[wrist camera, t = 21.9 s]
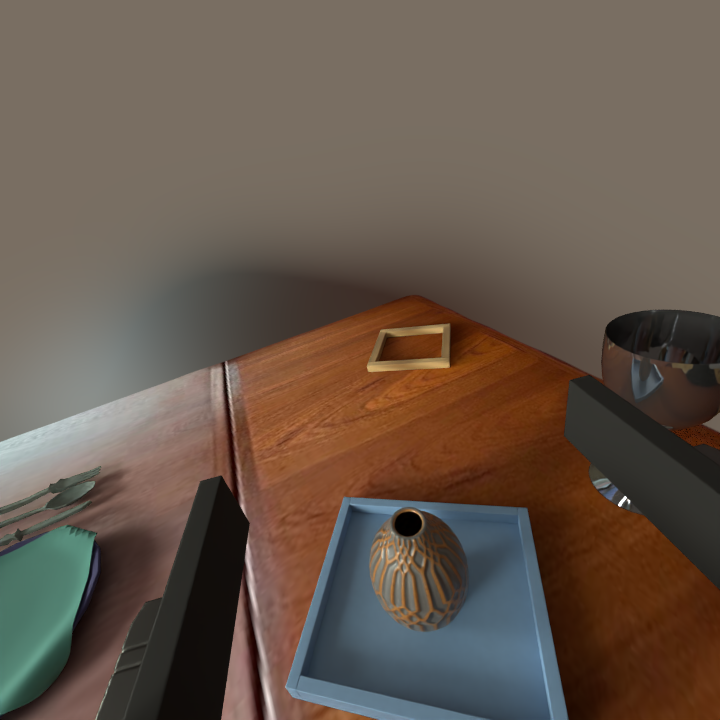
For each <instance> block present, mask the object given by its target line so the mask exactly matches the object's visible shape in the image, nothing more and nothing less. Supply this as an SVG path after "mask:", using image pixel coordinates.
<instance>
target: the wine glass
mask: <svg viewBox="0 0 720 720" xmlns="http://www.w3.org/2000/svg"><path fill="white" fill-rule="evenodd" d="M601 363H602V377H603V383H604V385H605V386H606V387H607V388H609V389H610V390H612V391H613V392H615V393H616V394H618V395H619V396H620V397H622V398H623V399H625V400H626V401H628V402H629V403H631V404H632V405H633V406H635V407H636V408H638V409H639V410H641V411H642V412H644V413H645V414H646V415H648V416H649V417H651V418H652V419H654V420H655V421H657V422H658V423H659V424H661V425H662V426H664V427H665V428H667V429H668V430H670V431H671V432H673V431H677V430H682V429H686V428H691V427H695V426H697V425H700V424H703V423H705V422H707V421H709V420H711V419H712V418H713V417H714V416H716V415H717V414H718V413H720V317H718V316H714V315H709V314H705V313H699V312H692V311H682V310H649V311H640V312H634V313H630V314H625V315H623V316H620V317H618V318H616V319H614V320H612V321H611V322H610V323H609V324H608V325H607V327H606V330H605V335H604V341H603V349H602V360H601ZM589 477H590V479H591V482H592V484H593V485H594V487H595V488H596V489H597V490H598V492H599V493H600V494H601V495H603V496H604V497H605V498H606V499H608V500H609V501H611V502H612V503H614V504H615V505H617V506H619V507H621V508H623V509H626V510H628V511H631V512H634V513H637V514H641V515H644V514H643V513H642V512H641V511H640V510H639V509H638V508H636V507H635V506H634V505H633V504H632V503H631V502H630V501H629V500H628V499H627V498H626V497H625V496H624V495H623V494H622V493H621V492H620V491H619V490H618V489H617V488H616V487H615V486H614V485H613V484H612V483H611V482H610V481H609V480H608V479H607V478H606V477H605V476H604V475H603V474H602V473H601V472H600V471H599V470H598V469H597V468H596V467H595V466H594V465H593V464H592V463H591V464H590V467H589Z"/></svg>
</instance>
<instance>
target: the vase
mask: <svg viewBox="0 0 720 720" xmlns="http://www.w3.org/2000/svg"><path fill="white" fill-rule="evenodd" d="M369 568H370V577H371V581H372V585H373V588H374V591H375V593H376V596H377V598H378V600H379V602H380V603H381V605H382V607H383V608H384V610H385V611H386V612H387V613H388V614H389V615H390V616H391V617H392V618H393V619H394V620H395V621H396V622H398V623H399V624H401V625H402V626H404V627H406V628H408V629H411V630H414V631H419V632H430V631H435V630H438V629H441V628H443V627H445V626H446V625H448V624H449V623H450V622H451V621H453V620H454V618H455V617H456V616H457V615H458V613H459V612H460V610H461V609H462V607H463V605H464V602H465V599H466V596H467V592H468V584H469V571H468V564H467V559H466V555H465V552H464V550H463V547H462V545H461V543H460V541H459V539H458V538H457V536H456V535H455V533H454V532H453V531H452V529H451V528H450V527H449V526H448V525H447V524H446V523H445V522H444V521H443V520H441V519H440V518H438V517H437V516H435V515H433V514H431V513H428V512H425V511H420V510H419V509H417V508H414V507H404V508H401V509H399V510H397V511H396V512H395V513H394V514H393V515H392V517H390V518H389V519H388V520H387V521H385V522H384V524H383V525H382V526H381V527H380V528H379V530H378V532H377V533H376V535H375V538H374V540H373V543H372V547H371V552H370V561H369Z"/></svg>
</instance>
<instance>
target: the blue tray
mask: <svg viewBox="0 0 720 720" xmlns="http://www.w3.org/2000/svg"><path fill="white" fill-rule="evenodd" d="M404 507H414V508H417V509H419V510H420V511H425V512H428V513H431V514H433V515H435V516H437V517H438V518H440V519H441V520H443V521H444V522H445V523H446V524H447V525H448V526H449V527H450V528H451V529H452V531H453V532H454V533H455V535H456V536H457V538H458V539H459V541H460V543H461V545H462V547H463V550H464V552H465V555H466V559H467V564H468V571H469V584H468V592H467V596H466V599H465V602H464V605H463V607H462V609H461V610H460V612H459V613H458V615H457V616H456V617H455V618H454V620H453V621H451V622H450V623H449V624H448V625H446V626H445V627H443V628H441V629H438V630H435V631H430V632H419V631H414V630H411V629H408V628H406V627H404V626H402V625H401V624H399V623H398V622H396V621H395V620H394V619H393V618H392V617H391V616H390V615H389V614H388V613H387V612H386V611H385V610H384V608H383V607H382V605H381V603H380V602H379V600H378V598H377V596H376V593H375V591H374V588H373V585H372V581H371V577H370V568H369V561H370V552H371V547H372V543H373V540H374V538H375V535H376V533H377V532H378V530H379V528H380V527H381V526H382V525H383V524H384V522H385V521H387V520H388V519H389V518H390V517H392V515H393V514H394V513H395V512H396V511H397V510H399V509H401V508H404ZM286 689H287V690H288V692H289V693H290V694H291V696H292V697H293V698H297V699H301V700H304V701H308V702H312V703H316V704H320V705H324V706H328V707H332V708H336V709H340V710H344V711H347V712H351V713H355V714H359V715H363V716H367V717H371V718H375V719H379V720H569V719H568V714H567V708H566V703H565V698H564V693H563V688H562V683H561V678H560V673H559V668H558V663H557V657H556V652H555V647H554V642H553V637H552V632H551V627H550V622H549V617H548V611H547V606H546V601H545V596H544V591H543V586H542V581H541V576H540V571H539V566H538V560H537V555H536V550H535V545H534V540H533V535H532V530H531V525H530V520H529V514H528V509H527V508H520V507H503V506H486V505H469V504H453V503H436V502H419V501H403V500H386V499H369V498H353V497H352V498H351V497H344V499H343V502H342V506H341V509H340V512H339V515H338V519H337V522H336V525H335V528H334V532H333V535H332V538H331V541H330V544H329V548H328V551H327V554H326V557H325V561H324V564H323V567H322V570H321V574H320V577H319V580H318V583H317V587H316V590H315V593H314V596H313V600H312V603H311V606H310V609H309V613H308V616H307V619H306V622H305V626H304V629H303V632H302V635H301V639H300V642H299V645H298V648H297V652H296V655H295V658H294V661H293V664H292V668H291V671H290V674H289V677H288V681H287V684H286Z"/></svg>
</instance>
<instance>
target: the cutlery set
mask: <svg viewBox="0 0 720 720" xmlns="http://www.w3.org/2000/svg"><path fill="white" fill-rule="evenodd" d="M100 468H101V466H99V467H97V468H95V469H93V470H90V471H88V472H84V473H81V474H78V475H75V476H72V477H70V478H66V479H60V480H59V481H58V482H57V483H55V484H50V486H49V488H46V489H44V490H42V491H40V492H38V493H36V494H34V495H32V496H30V497H28V498H25V499H23V500H20V501H18V502H15V503H12V504H10V505H7V506H4V507H1V508H0V515H2V514H4V513H7V512H10V511H12V510H14V509H17V508H19V507H22V506H24V505H26V504H28V503H31V502H32V501H34V500H36V499H38V498H39V497H41V496H43V495H45V494H47V493H49V492H51V493H53V494H54V493H58V492H61V493H60V494H58V495H57V496H55V497H54V498H53V499H51V500H50V501H49V502H47V503H46V505H45V506H44V507H42V508H39V509H36V510H33V511H30V512H27V513H25V514H22V515H20V516H17V517H14V518H11V519H8V520H5V521H3V522H0V528H2V527H4V526H7V525H9V524H12V523H14V522H17V521H19V520H22V519H24V518H26V517H29V516H31V515H34V514H36V513H39V512H41V511H44V510H47V509H54V510H56V509H60V508H63V507H66V506H69V505H71V504H73V503H74V502H76V501H78V500H79V499H81V498H82V497H83V496H84V495H86V494H87V493H88V492H89V491H91V490H92V488H93V487H94V485H95V482H96V481H89V482H84V483H81V484H78V483H80V482H83V481H85V480H87V479H90V478H92V477H94V476H96V475H97V474H99V473H100V472H98V471H100ZM77 484H78V485H77ZM68 488H69V489H68ZM66 489H67V490H66ZM64 490H65V491H64ZM62 491H63V492H62ZM91 503H92V502H91V501H87V502H85V503H83V504H81V505H78V506H76V507H74V508H72V509H70V510H67V511H65V512H63V513H61V514H59V515H56V516H54V517H52V518H50V519H48V520H45V521H43V522H41V523H39V524H36V525H34V526H32V527H30V528H28V529H25V530H23V531H20V530H19V529H17V531H16V532H15V533H13V534H7V535H5V536H4V537H3V538H1V539H0V546H4V545H8V544H9V543H10V542H11V541H12V540H19V541H20V542H18V543H16V544H14V545H12V546H10V547H8V548H7V549H5V550H3V551H1V552H0V718H1V717H2V716H3V715H4V714H5V713H7V712H9V711H12V710H14V709H17V708H19V707H21V706H23V705H25V704H28V703H30V702H31V701H33V700H34V699H36V698H37V697H39V696H40V695H41V694H42V693H43V692H44V691H45V690H46V689H48V688H49V686H50V685H51V684H52V683H53V682H54V681H55V680H56V679H57V677H58V676H59V674H60V673H61V671H62V670H63V668H64V666H65V665H66V663H67V660H68V657H69V654H70V648H71V638H72V632H73V630H74V629H75V627H76V625H77V624H78V622H79V621H80V619H81V617H82V616H83V614H84V612H85V611H86V609H87V608H88V606H89V603H90V600H91V597H92V595H93V592H94V589H95V587H96V584H97V581H98V578H99V576H100V573H101V549H100V547H99V546H98V544H97V543H96V541H95V540H94V538H95V536H96V535H97V533H95V532H92V531H88V530H85V529H81V528H77V527H74V526H70V525H66V526H62V527H59V528H56V529H54V530H52V531H49V532H45V533H43V534H40V535H37V536H34V537H32V538H29V539H26V540H24V541H21V540H22V538H23V536H24V535H27V534H30V533H33V532H35V531H38V530H40V529H43V528H45V527H47V526H49V525H52V524H54V523H56V522H58V521H61V520H63V519H65V518H67V517H69V516H71V515H73V514H76V513H78V512H80V511H81V510H83V509H85V508H86V507H87V506H89V505H90V504H91Z"/></svg>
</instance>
